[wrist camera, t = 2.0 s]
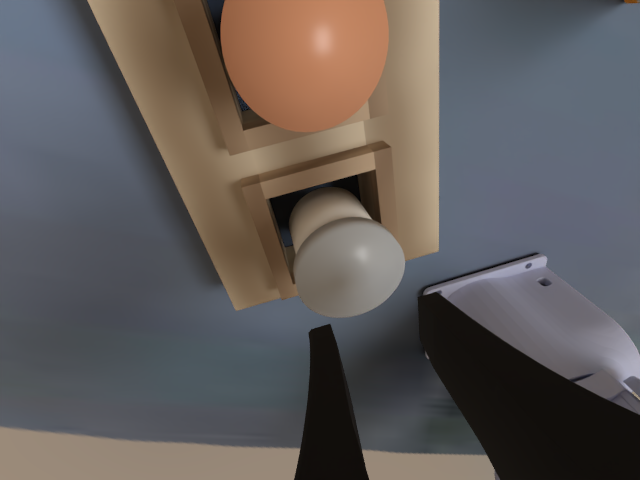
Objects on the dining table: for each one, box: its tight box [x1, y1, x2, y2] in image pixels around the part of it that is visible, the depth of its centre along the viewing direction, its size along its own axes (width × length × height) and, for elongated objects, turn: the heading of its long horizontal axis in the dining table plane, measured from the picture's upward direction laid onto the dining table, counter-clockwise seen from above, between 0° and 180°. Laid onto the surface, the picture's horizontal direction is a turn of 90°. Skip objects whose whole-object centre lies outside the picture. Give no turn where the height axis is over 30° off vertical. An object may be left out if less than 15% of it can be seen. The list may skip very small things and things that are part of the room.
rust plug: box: [221, 0, 389, 132], centre depth 11 cm, size 4×4×4 cm
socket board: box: [87, 0, 439, 311], centre depth 15 cm, size 12×16×4 cm
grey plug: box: [289, 187, 405, 318], centre depth 15 cm, size 4×4×4 cm
